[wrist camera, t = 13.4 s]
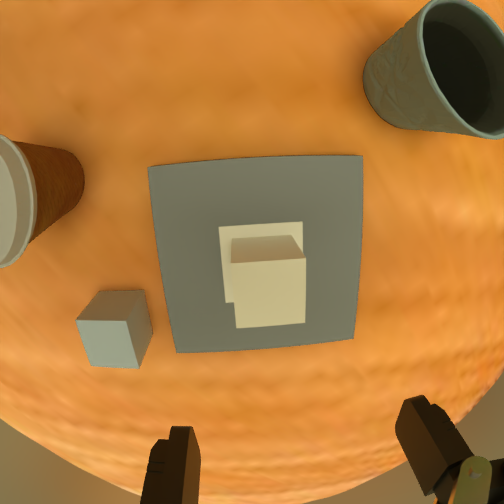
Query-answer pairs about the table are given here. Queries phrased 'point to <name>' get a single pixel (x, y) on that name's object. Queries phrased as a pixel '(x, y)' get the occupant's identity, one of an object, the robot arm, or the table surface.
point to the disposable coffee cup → (33, 192)
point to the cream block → (268, 281)
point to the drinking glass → (441, 72)
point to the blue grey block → (116, 329)
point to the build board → (256, 225)
